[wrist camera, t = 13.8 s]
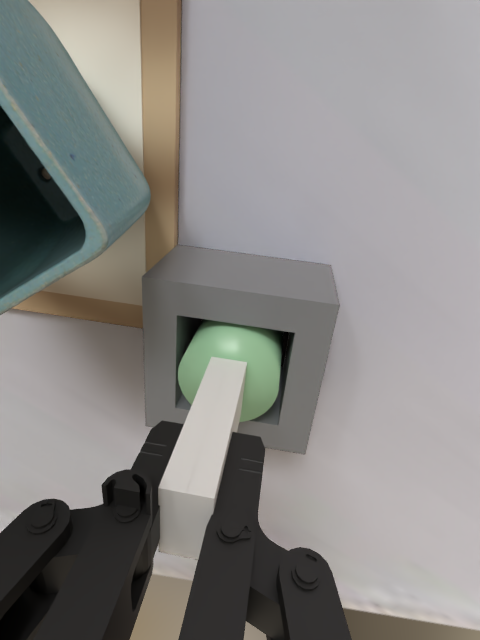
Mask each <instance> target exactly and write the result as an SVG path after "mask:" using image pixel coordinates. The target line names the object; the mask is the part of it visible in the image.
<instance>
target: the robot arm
mask: <svg viewBox="0 0 480 640" xmlns="http://www.w3.org/2000/svg"><path fill="white" fill-rule="evenodd" d="M246 368H247V362H243V361H236V360H230V359H224V358H218V357H211V359H210V362H209V364H208V366H207V369H206V371H205V374H204V376H203V379H202V381H201V384H200V386H199V389H198V391H197V394H196V396H195V398H194V401H193V403H192V406H191V408H190V411H189V413H188V416H187V418H186V421H185V423H184V424H180V423H175V422H169V421H163V420H162V421H161V422H159V423H158V424H157V425H156V426H155V427H154V428H152V429H151V431H150V433H149V435H148V437H147V439H146V441H145V443H144V445H143V447H142V449H141V451H140V453H139V454H138V456H137V458H136V460H135V462H134V464H133V466H132V468H131V470H123V471H119V472H116V473H115V474H113V475H111V476H110V477H108V478H107V479H106V481H105V482H104V483H103V484H102V493H103V503H104V504H102V505H99V506H96V507H91V508H83V509H74V510H69V506H68V505H67V504H66V503H64V502H63V501H61V500H57V499H46V500H42V501H39V502H37V503H34V504H32V505H31V506H30V507H28V508H27V509H26V510H24V511H23V512H22V513H21V514H20V515H19V516H18V517H17V518H16V519H15V520H14V521H12V522H11V523H10V524H9V525H8V526H7V527H6V528H5V529H4V530H3V531H2V532H1V533H0V640H129V639H130V636H131V633H132V630H133V628H134V624H135V622H136V619H137V616H138V613H139V610H140V607H141V604H142V601H143V598H144V595H145V592H146V589H147V586H148V583H149V580H150V577H151V574H152V570H153V557H154V554H155V552H156V549H157V546H158V543H159V552H162V553H167V554H172V555H177V556H181V557H186V558H191V559H196V560H198V563H197V567H196V571H195V575H194V579H193V583H192V587H191V592H190V595H189V599H188V603H187V607H186V611H185V616H184V620H183V624H182V628H181V632H180V636H179V640H243V638H244V631H245V622H246V621H247V622H249V623H250V624H251V625H253V626H255V627H256V628H257V629H259V630H260V631H262V632H263V633H265V634H266V637H267V640H352V639H351V636H350V632H349V629H348V625H347V622H346V619H345V615H344V612H343V608H342V605H341V601H340V598H339V595H338V591H337V588H336V584H335V581H334V577H333V574H332V571H331V569H330V567H329V565H328V563H327V562H326V561H325V560H324V559H323V558H322V556H321V555H320V554H318V553H316V552H314V551H313V550H311V549H307V548H301V547H299V548H295V549H291V550H290V551H287V550H285V549H284V548H282V547H280V546H278V545H277V544H275V543H274V542H272V541H271V540H269V539H268V538H267V537H266V535H265V534H264V533H263V531H262V530H261V528H260V526H259V522H258V506H259V498H260V489H261V481H262V472H263V463H264V455H265V447H264V444H263V442H262V439H261V437H259V436H254V435H248V434H242V433H237V430H238V425H239V421H240V416H241V410H242V401H243V393H244V384H245V376H246Z"/></svg>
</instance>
